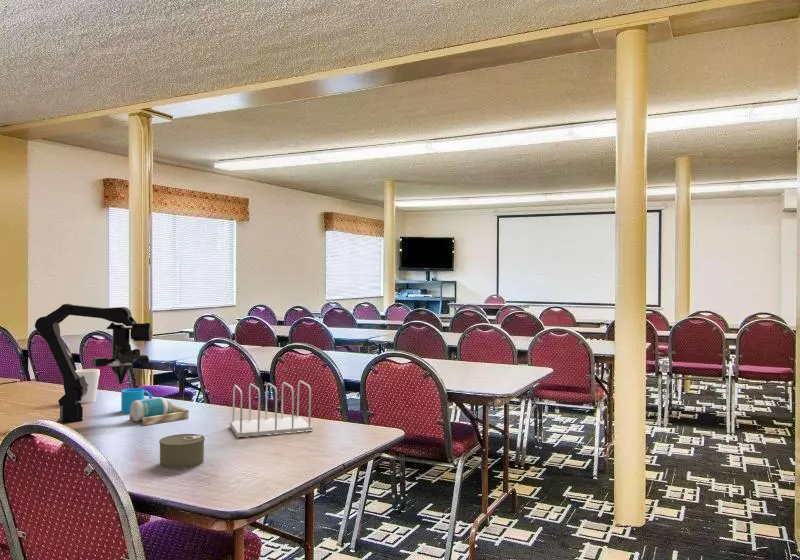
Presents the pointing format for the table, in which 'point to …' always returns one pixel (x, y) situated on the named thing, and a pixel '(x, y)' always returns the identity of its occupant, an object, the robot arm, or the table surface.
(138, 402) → the pill bottle
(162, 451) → the can
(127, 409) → the mug
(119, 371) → the robot arm
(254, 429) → the file sorter
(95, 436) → the table surface
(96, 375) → the foam cup
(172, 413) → the cradle
